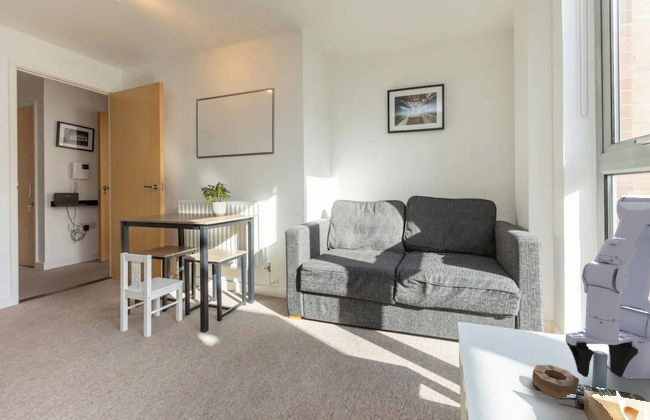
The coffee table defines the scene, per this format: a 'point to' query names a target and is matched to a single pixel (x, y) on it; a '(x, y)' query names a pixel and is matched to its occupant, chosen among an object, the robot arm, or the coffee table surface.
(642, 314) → the robot arm
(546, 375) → the wooden octagonal ring
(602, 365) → the dowel
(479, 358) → the coffee table surface
